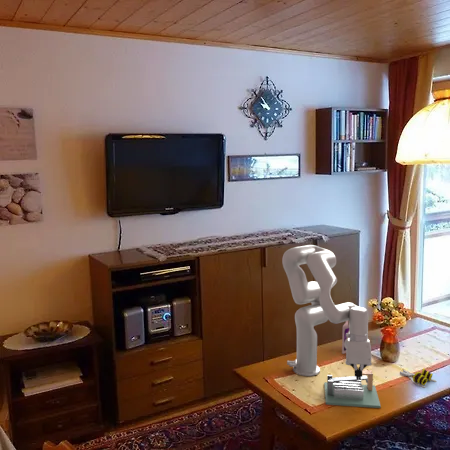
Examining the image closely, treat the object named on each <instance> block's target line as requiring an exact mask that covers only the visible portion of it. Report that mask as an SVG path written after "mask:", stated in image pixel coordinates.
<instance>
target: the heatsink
mask: <svg viewBox="0 0 450 450" xmlns="http://www.w3.org/2000/svg"><path fill="white" fill-rule="evenodd" d="M326 375H327V378H326V379H327V390H328V395H330V396H333V394H334V398H341V399H356V400H363V388H362V385H363V383H362V380H358V381H344V382H333V380H329V378H333V374H326Z"/></svg>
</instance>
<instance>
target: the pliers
mask: <svg viewBox="0 0 450 450" xmlns="http://www.w3.org/2000/svg"><path fill="white" fill-rule="evenodd" d="M415 374H416V373H412V372H409V371H407V370H405V369H403V370H402V371H399V375H401V376H403V377H408V379H410V381H411V382H412V383H413V384H415V385H416V386H419V387H421V388H424V389H425V388H426V387H427V386H425V385H422V384H420V383H418V382H414V381H413V376H414V375H415ZM431 381H432V382H434V383H437V380H436V379H433V378H431V380H430V382H431Z"/></svg>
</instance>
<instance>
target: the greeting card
mask: <svg viewBox="0 0 450 450" xmlns="http://www.w3.org/2000/svg"><path fill="white" fill-rule="evenodd" d="M348 333H349V321H345V323H344V324H343V325H342V335H341V336H342V339H341V340H342V343H341V345H342V347H341V354H346V348H347V341H348V338H349V337H346V334H348Z"/></svg>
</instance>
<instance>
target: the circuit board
mask: <svg viewBox="0 0 450 450" xmlns="http://www.w3.org/2000/svg"><path fill="white" fill-rule="evenodd" d="M323 383H324V398H325V405H329V406H330V405H331V406H341V407H342V406H343V407H357V408H358V407H360V408H371V409H372V408H373V409H376V408H377V409H381V401H380V399H379V395H378V391H377V389H376V385H375V384H374V385H373V386H372V390H368V388H367V384H362V388H363V400H356V399H341V398H334V394H333V396H330V395H328V390H327V382H325V381H324V382H323Z"/></svg>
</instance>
